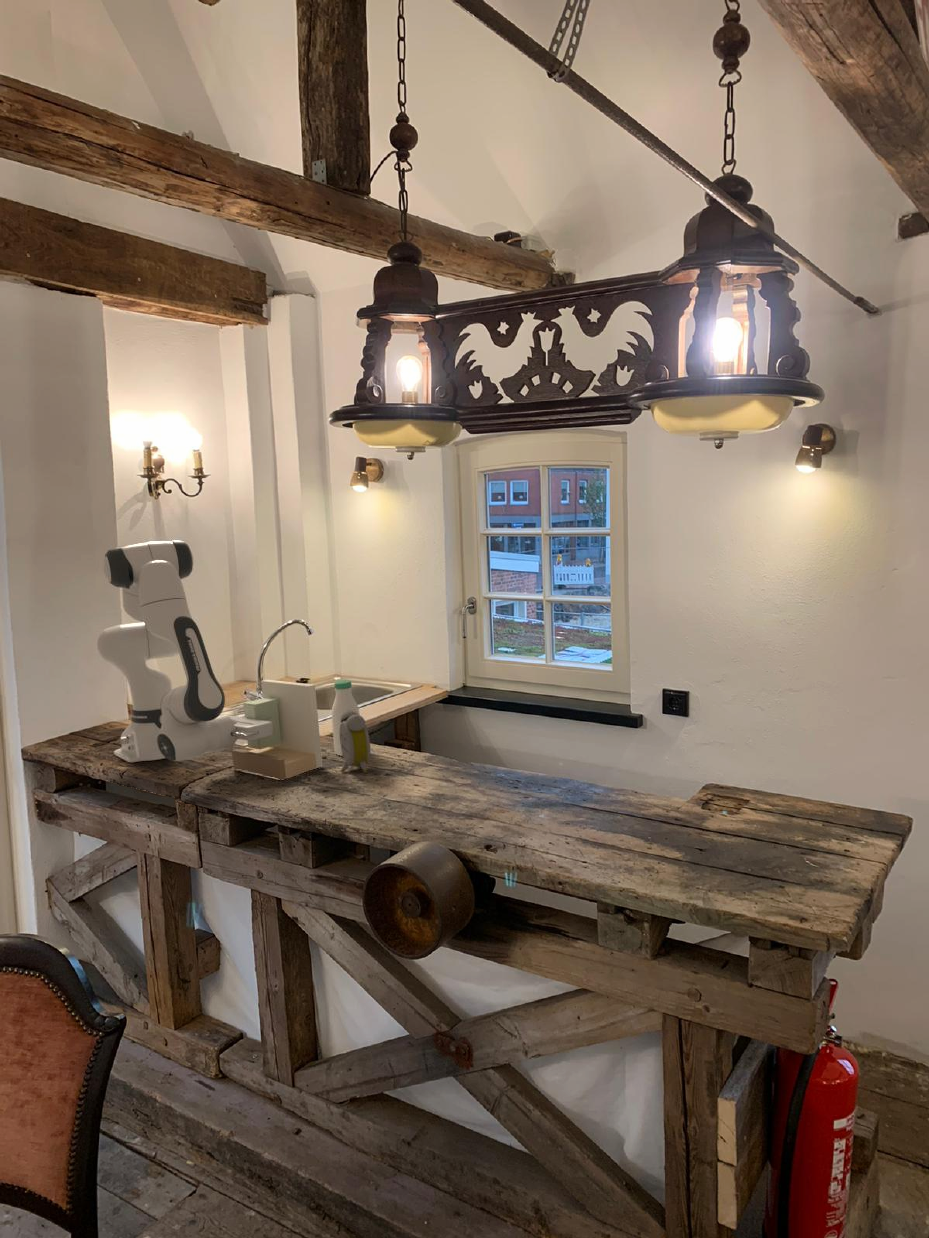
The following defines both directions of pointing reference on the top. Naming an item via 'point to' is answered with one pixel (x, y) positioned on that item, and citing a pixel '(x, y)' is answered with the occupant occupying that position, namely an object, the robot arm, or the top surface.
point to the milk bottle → (341, 710)
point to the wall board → (287, 734)
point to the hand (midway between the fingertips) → (265, 720)
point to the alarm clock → (354, 740)
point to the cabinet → (263, 711)
